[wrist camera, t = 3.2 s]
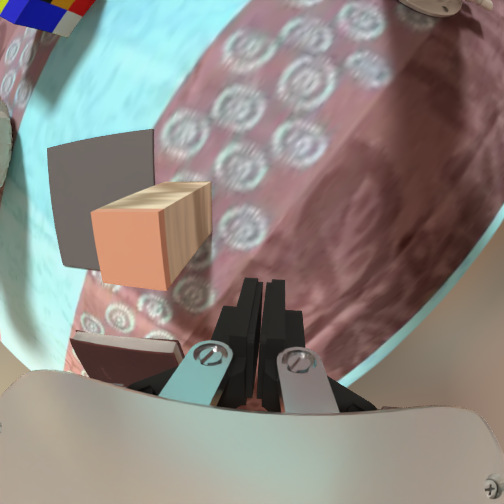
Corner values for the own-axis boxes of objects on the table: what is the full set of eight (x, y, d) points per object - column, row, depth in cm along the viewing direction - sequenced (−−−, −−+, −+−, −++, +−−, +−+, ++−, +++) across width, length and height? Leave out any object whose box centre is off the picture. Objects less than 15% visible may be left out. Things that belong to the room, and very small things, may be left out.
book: (201, 397, 39) (196, 412, 36) (105, 382, 41) (97, 394, 38) (181, 337, 34) (173, 353, 31) (77, 328, 37) (66, 339, 34)
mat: (153, 129, 24) (152, 129, 24) (163, 275, 30) (161, 276, 30) (48, 148, 26) (47, 148, 26) (64, 264, 32) (63, 265, 32)
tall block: (211, 181, 26) (158, 211, 15) (212, 231, 28) (166, 291, 17) (163, 182, 26) (90, 212, 15) (166, 229, 28) (103, 282, 17)
